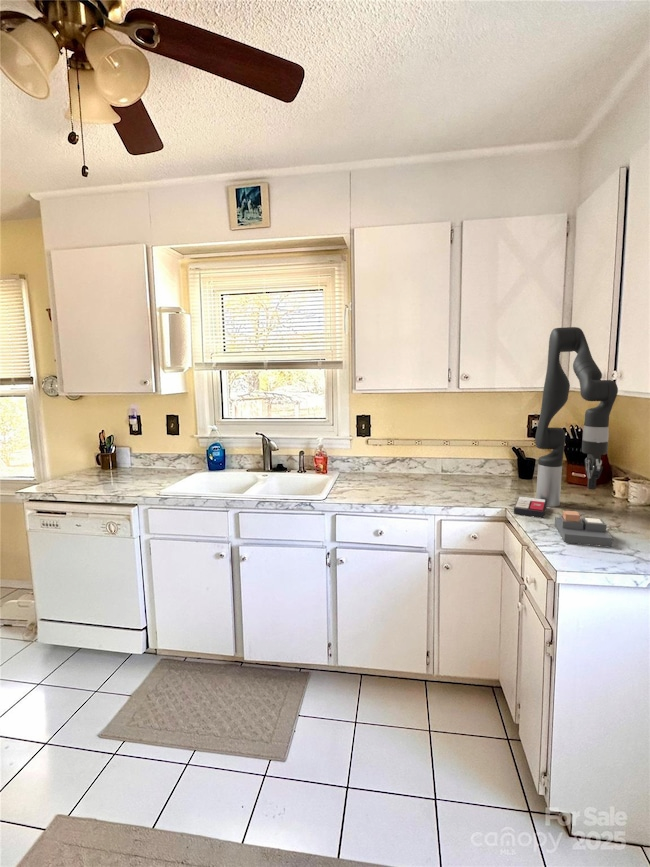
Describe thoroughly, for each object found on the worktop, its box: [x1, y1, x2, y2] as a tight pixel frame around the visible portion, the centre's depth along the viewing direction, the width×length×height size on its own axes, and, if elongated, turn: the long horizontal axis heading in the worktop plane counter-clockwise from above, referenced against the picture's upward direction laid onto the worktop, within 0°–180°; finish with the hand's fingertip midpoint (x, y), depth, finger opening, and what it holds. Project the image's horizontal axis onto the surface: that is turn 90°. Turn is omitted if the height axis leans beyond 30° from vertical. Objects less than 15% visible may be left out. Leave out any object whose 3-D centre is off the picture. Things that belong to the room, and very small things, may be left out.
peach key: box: [562, 510, 581, 522], centre depth 156 cm, size 4×4×2 cm
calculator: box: [513, 496, 547, 519], centre depth 183 cm, size 11×4×15 cm
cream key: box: [584, 517, 603, 524], centre depth 154 cm, size 4×4×2 cm
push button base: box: [553, 515, 614, 548], centre depth 155 cm, size 18×14×6 cm
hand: (591, 488), depth 153 cm, fingers closed
